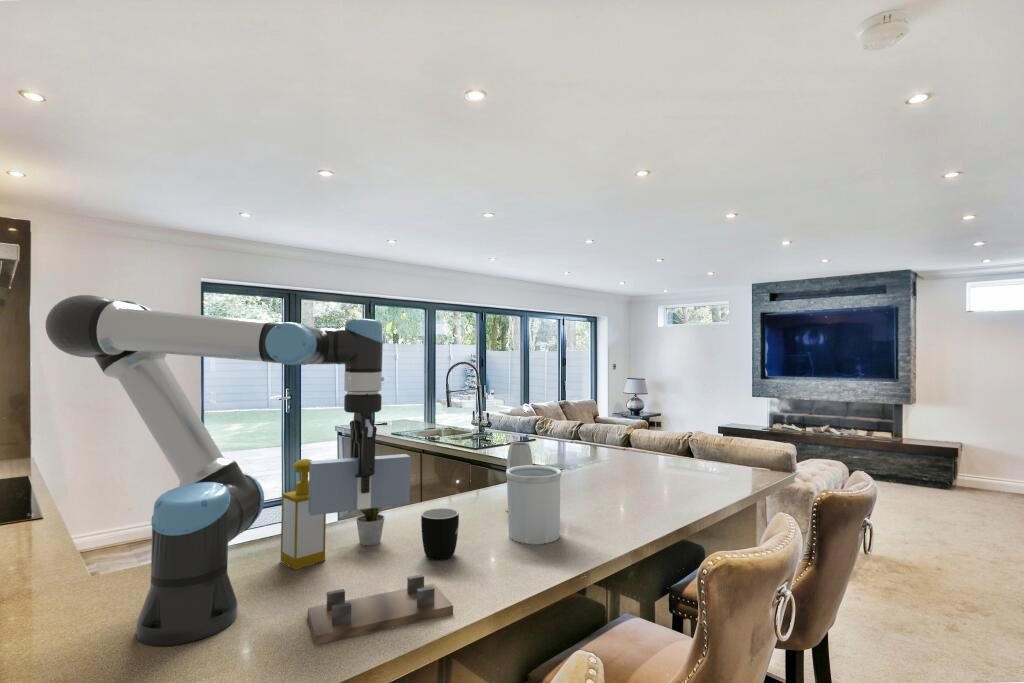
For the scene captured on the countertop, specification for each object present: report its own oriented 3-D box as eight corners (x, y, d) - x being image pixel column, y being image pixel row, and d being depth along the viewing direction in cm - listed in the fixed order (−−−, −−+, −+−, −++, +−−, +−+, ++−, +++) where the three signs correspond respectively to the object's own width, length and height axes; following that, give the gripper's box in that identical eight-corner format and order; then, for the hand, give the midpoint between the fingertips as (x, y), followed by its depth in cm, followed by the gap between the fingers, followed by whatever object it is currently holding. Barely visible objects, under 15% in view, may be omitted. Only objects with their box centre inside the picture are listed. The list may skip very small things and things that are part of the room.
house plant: (352, 531, 144) (353, 471, 145) (402, 532, 144) (403, 471, 145) (332, 549, 130) (334, 483, 131) (388, 550, 130) (389, 483, 130)
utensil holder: (532, 550, 131) (532, 478, 132) (494, 535, 142) (494, 469, 143) (572, 537, 141) (572, 471, 141) (534, 524, 152) (534, 463, 152)
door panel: (310, 515, 103) (312, 464, 104) (308, 511, 106) (309, 461, 107) (409, 503, 113) (410, 456, 113) (404, 499, 116) (405, 453, 116)
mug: (461, 560, 123) (461, 517, 124) (422, 564, 121) (423, 519, 121) (453, 543, 135) (453, 503, 135) (417, 547, 133) (418, 506, 133)
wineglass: (533, 515, 161) (533, 445, 162) (505, 514, 161) (505, 445, 162) (532, 507, 170) (533, 441, 171) (505, 507, 170) (506, 441, 171)
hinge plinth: (315, 645, 86) (315, 617, 86) (307, 616, 96) (308, 591, 96) (453, 613, 97) (453, 588, 97) (433, 590, 107) (433, 568, 107)
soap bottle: (306, 576, 114) (308, 466, 115) (280, 561, 123) (282, 459, 124) (336, 567, 119) (338, 462, 120) (310, 553, 128) (312, 455, 129)
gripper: (392, 394, 105) (390, 513, 104) (371, 390, 120) (369, 494, 119) (353, 395, 101) (351, 518, 101) (337, 391, 116) (335, 498, 115)
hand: (361, 505), depth 110 cm, fingers closed on door panel, 4 cm apart
